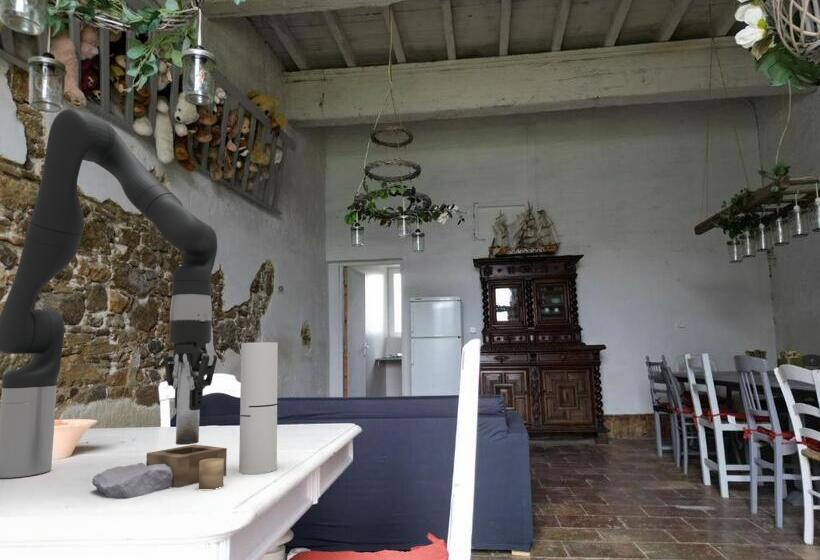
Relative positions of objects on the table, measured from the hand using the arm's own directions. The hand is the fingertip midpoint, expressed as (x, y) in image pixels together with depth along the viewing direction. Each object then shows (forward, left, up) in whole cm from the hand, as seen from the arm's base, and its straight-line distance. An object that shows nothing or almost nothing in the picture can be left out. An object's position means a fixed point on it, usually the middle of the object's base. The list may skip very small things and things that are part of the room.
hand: (188, 408), depth 100 cm
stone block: (-2, -10, -13) cm, 17 cm away
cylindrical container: (+7, +11, -13) cm, 18 cm away
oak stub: (+10, -2, -13) cm, 16 cm away
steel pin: (0, 0, -6) cm, 6 cm away
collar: (0, 0, -13) cm, 13 cm away
